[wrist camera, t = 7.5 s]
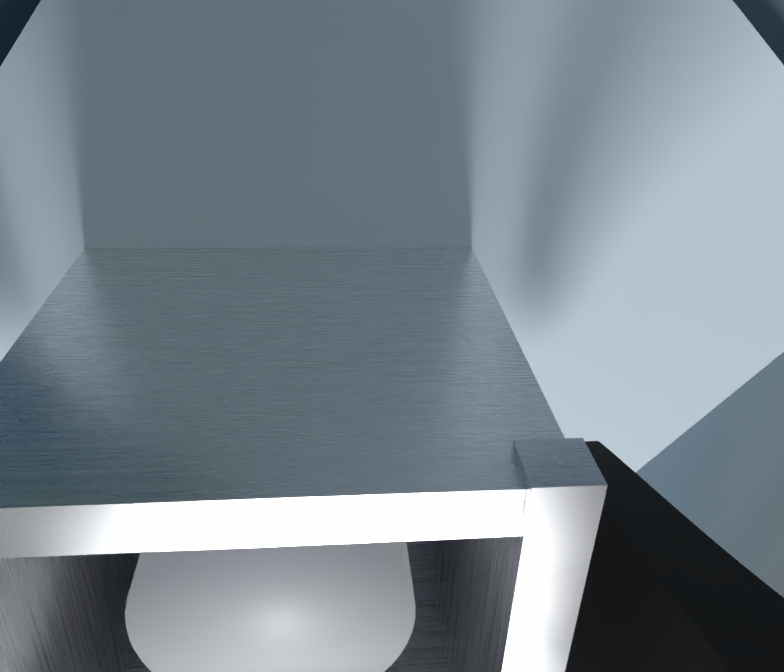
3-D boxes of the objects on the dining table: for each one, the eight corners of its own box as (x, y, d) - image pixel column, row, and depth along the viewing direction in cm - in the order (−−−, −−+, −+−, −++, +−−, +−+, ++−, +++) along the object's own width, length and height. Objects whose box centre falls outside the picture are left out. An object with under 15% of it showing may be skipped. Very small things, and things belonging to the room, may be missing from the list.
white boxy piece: (451, 529, 13) (523, 852, 8) (133, 542, 12) (26, 894, 8) (479, 239, 10) (608, 485, 6) (74, 240, 9) (-138, 511, 5)
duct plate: (215, 781, 17) (182, 1057, 13) (-306, 589, 13) (-609, 909, 9) (883, 220, 11) (1212, 389, 7) (341, -455, 7) (372, -999, 3)
